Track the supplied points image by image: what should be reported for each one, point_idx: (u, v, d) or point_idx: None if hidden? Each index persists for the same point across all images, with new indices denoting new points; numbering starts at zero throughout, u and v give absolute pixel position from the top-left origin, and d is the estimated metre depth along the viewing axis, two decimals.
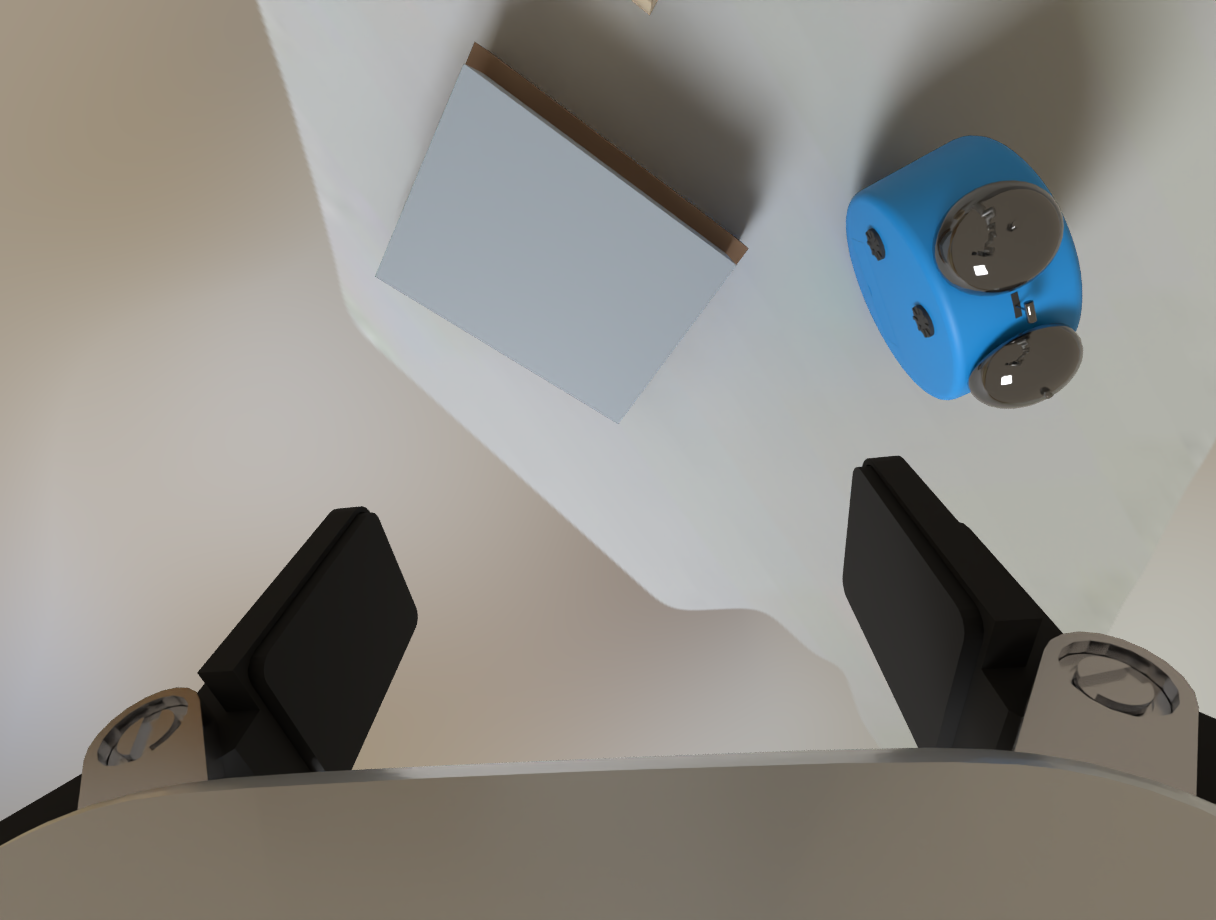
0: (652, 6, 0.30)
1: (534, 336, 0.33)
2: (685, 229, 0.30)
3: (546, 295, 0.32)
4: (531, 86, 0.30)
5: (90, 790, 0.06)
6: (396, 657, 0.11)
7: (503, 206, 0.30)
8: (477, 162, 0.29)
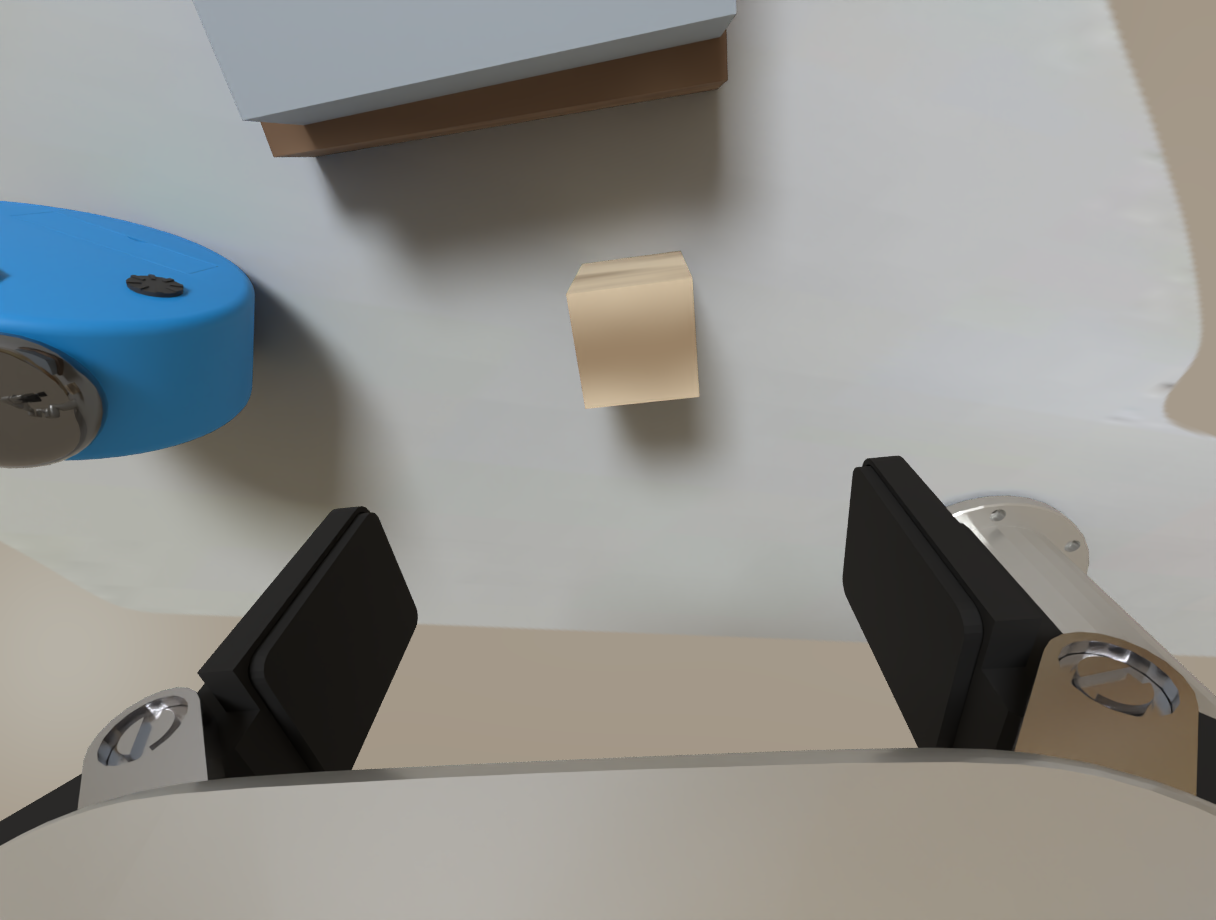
0: None
1: None
2: (334, 97, 0.19)
3: None
4: (636, 93, 0.21)
5: (90, 790, 0.06)
6: (396, 657, 0.11)
7: None
8: None
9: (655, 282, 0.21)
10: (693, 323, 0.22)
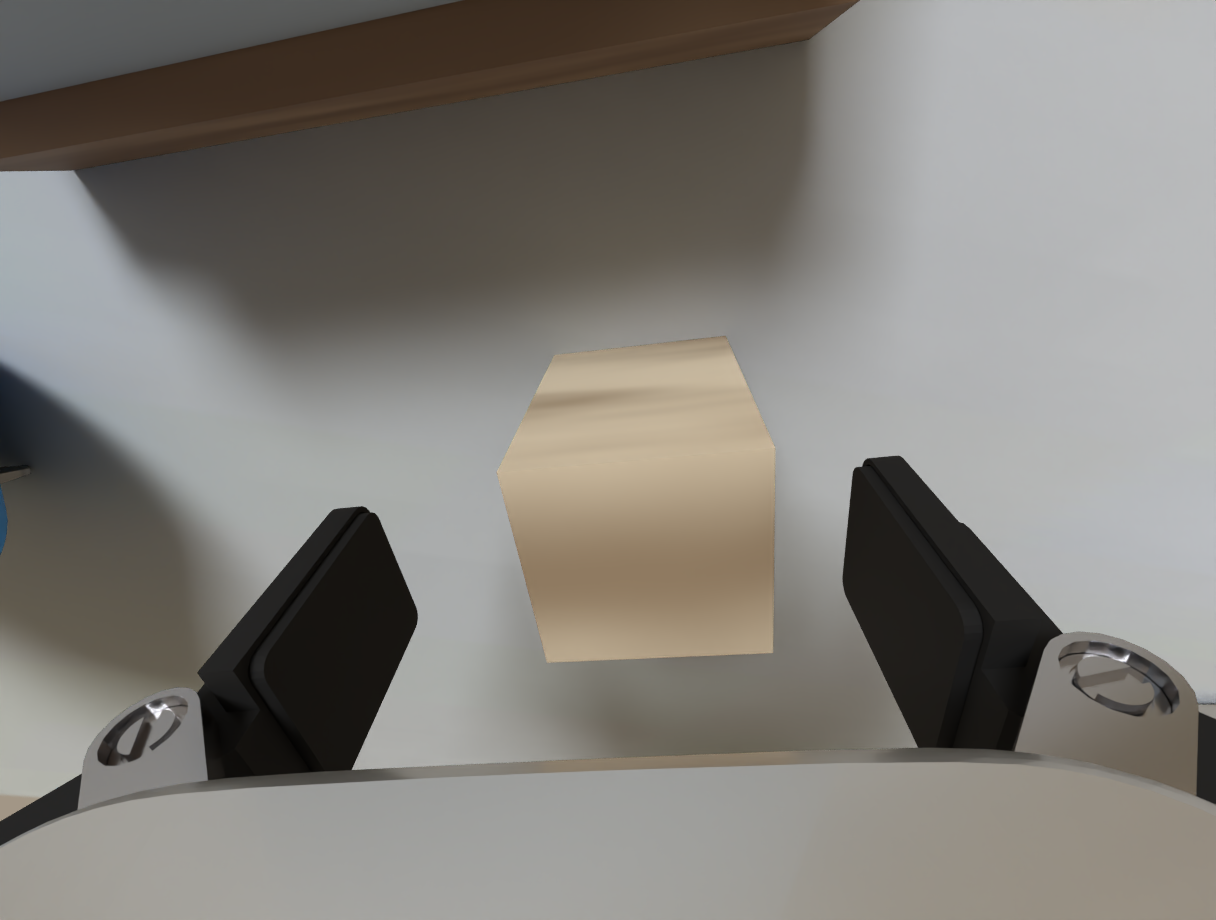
0: None
1: None
2: None
3: None
4: (651, 33, 0.10)
5: (90, 790, 0.06)
6: (396, 657, 0.11)
7: None
8: None
9: (691, 452, 0.10)
10: (770, 531, 0.10)
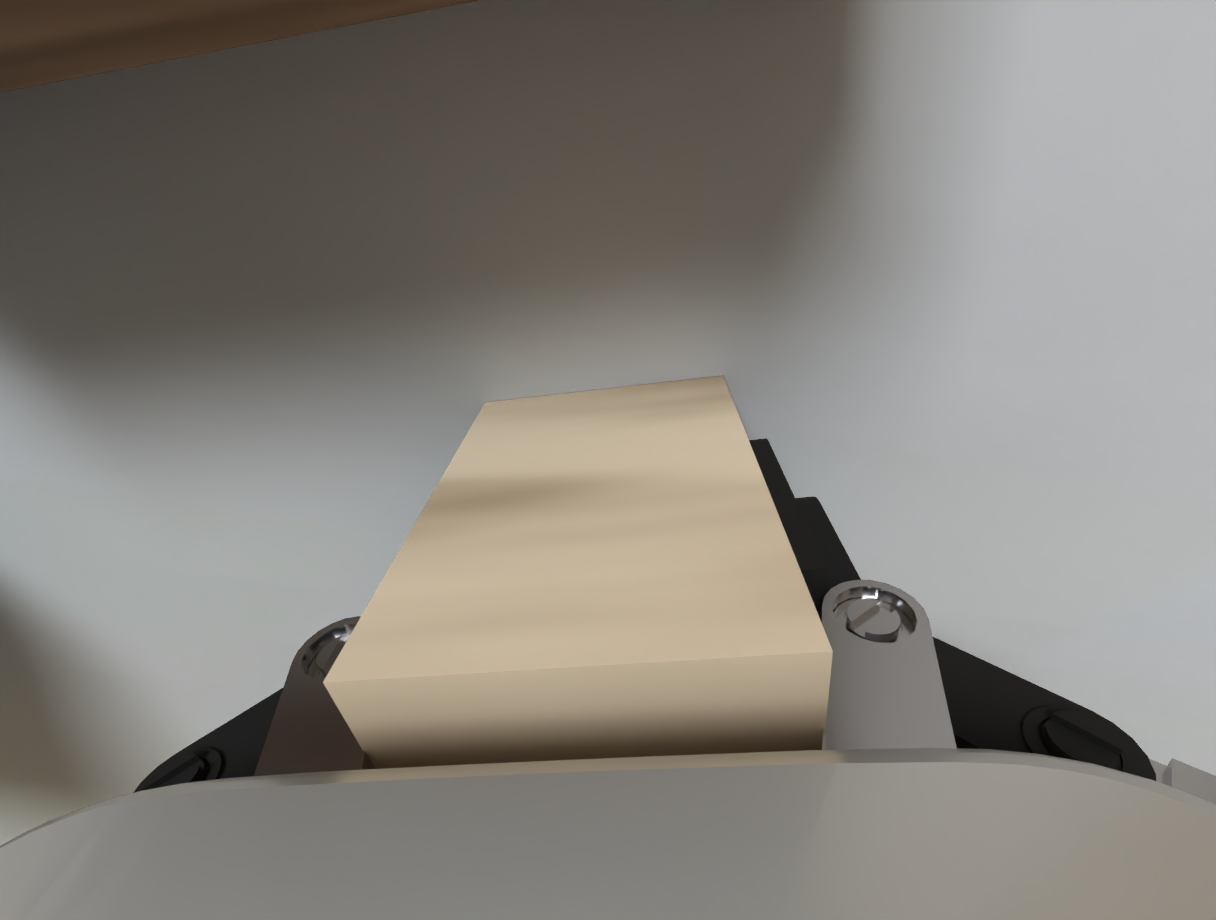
0: None
1: None
2: None
3: None
4: None
5: (289, 692, 0.07)
6: None
7: None
8: None
9: (675, 652, 0.05)
10: None
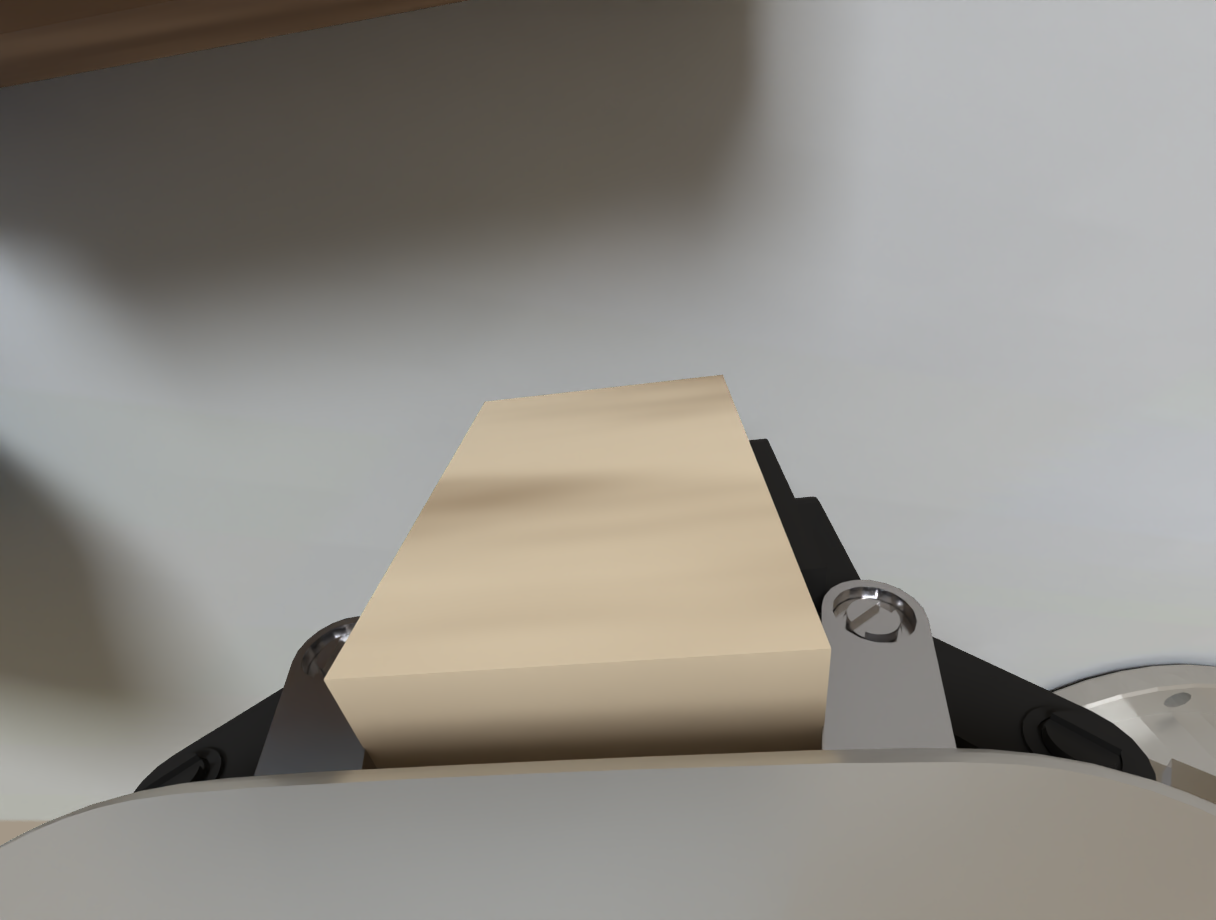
0: None
1: None
2: None
3: None
4: None
5: (289, 692, 0.07)
6: None
7: None
8: None
9: (675, 649, 0.05)
10: None
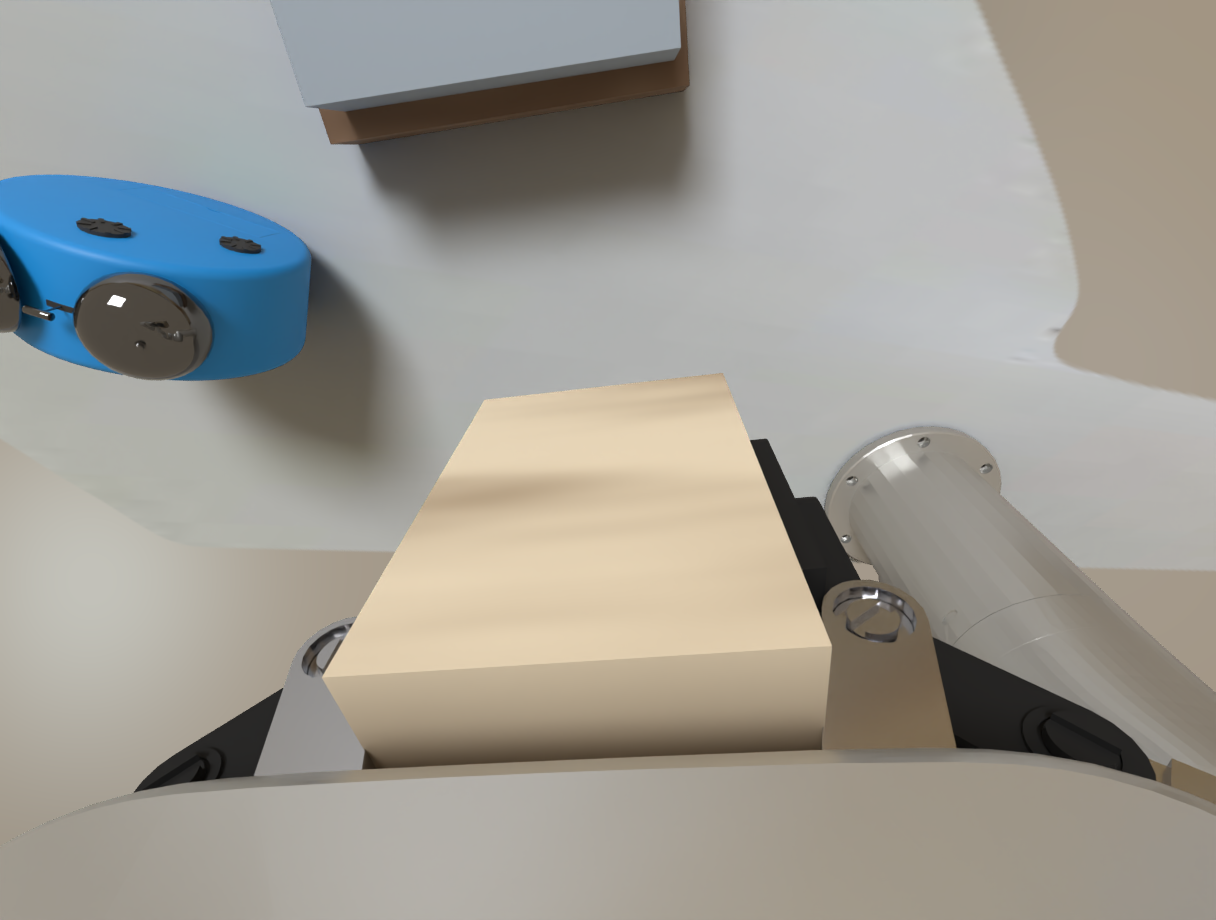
0: None
1: None
2: (378, 92, 0.24)
3: None
4: (618, 94, 0.28)
5: (289, 692, 0.07)
6: None
7: None
8: None
9: (674, 647, 0.05)
10: None
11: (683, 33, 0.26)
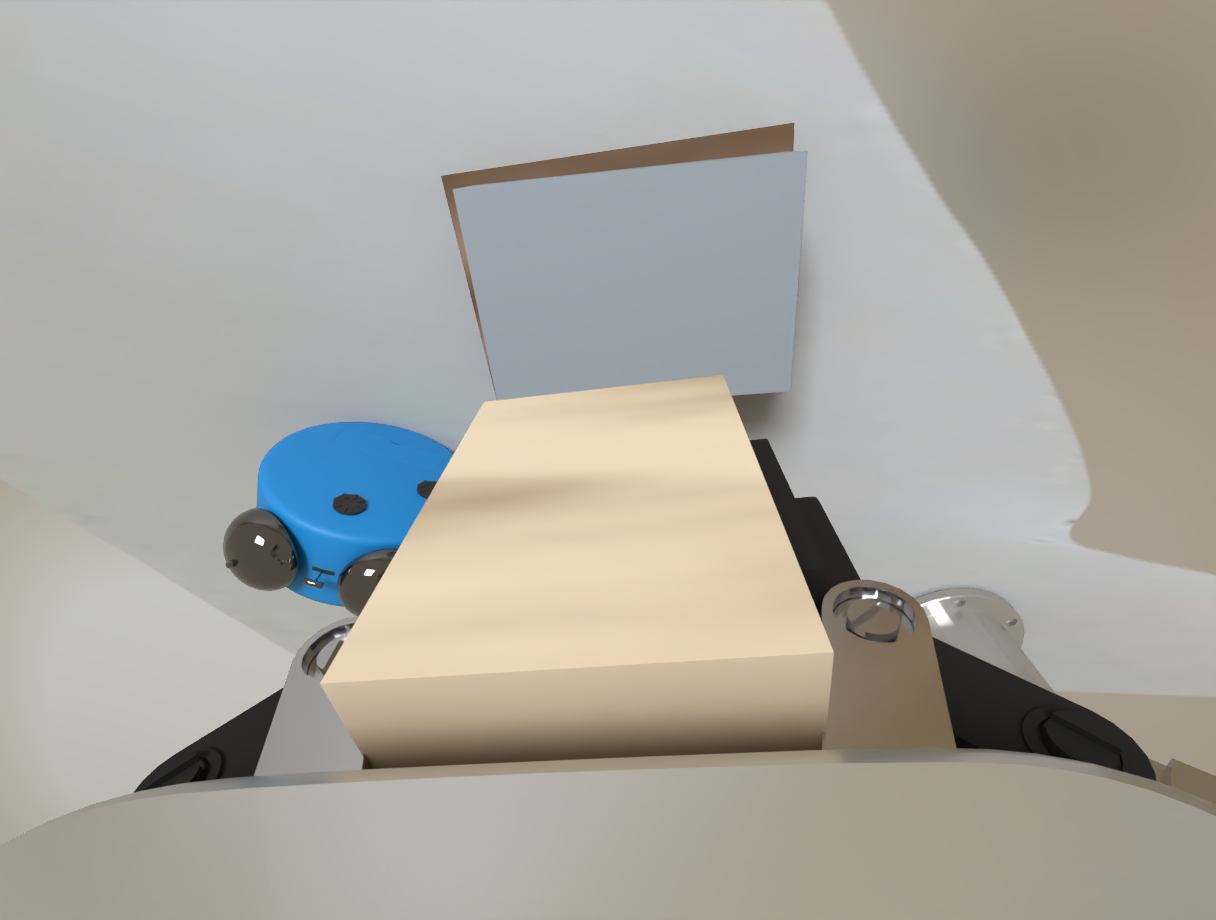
0: None
1: (609, 220, 0.27)
2: None
3: (625, 271, 0.28)
4: None
5: (289, 692, 0.07)
6: None
7: (709, 318, 0.29)
8: (748, 336, 0.30)
9: (675, 653, 0.05)
10: None
11: None
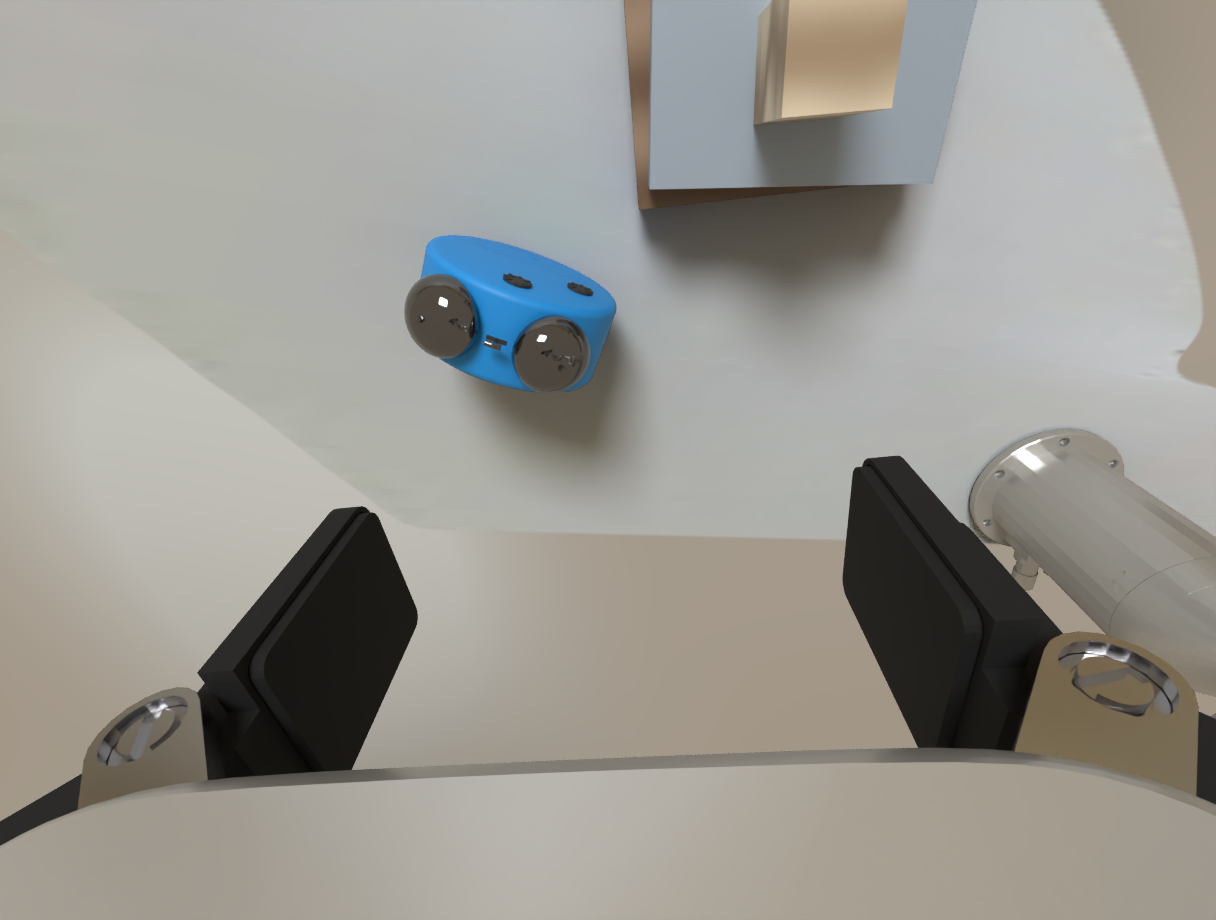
0: (763, 15, 0.28)
1: None
2: (707, 186, 0.33)
3: None
4: None
5: (90, 790, 0.06)
6: (396, 657, 0.11)
7: None
8: (905, 117, 0.31)
9: None
10: (903, 20, 0.24)
11: None
